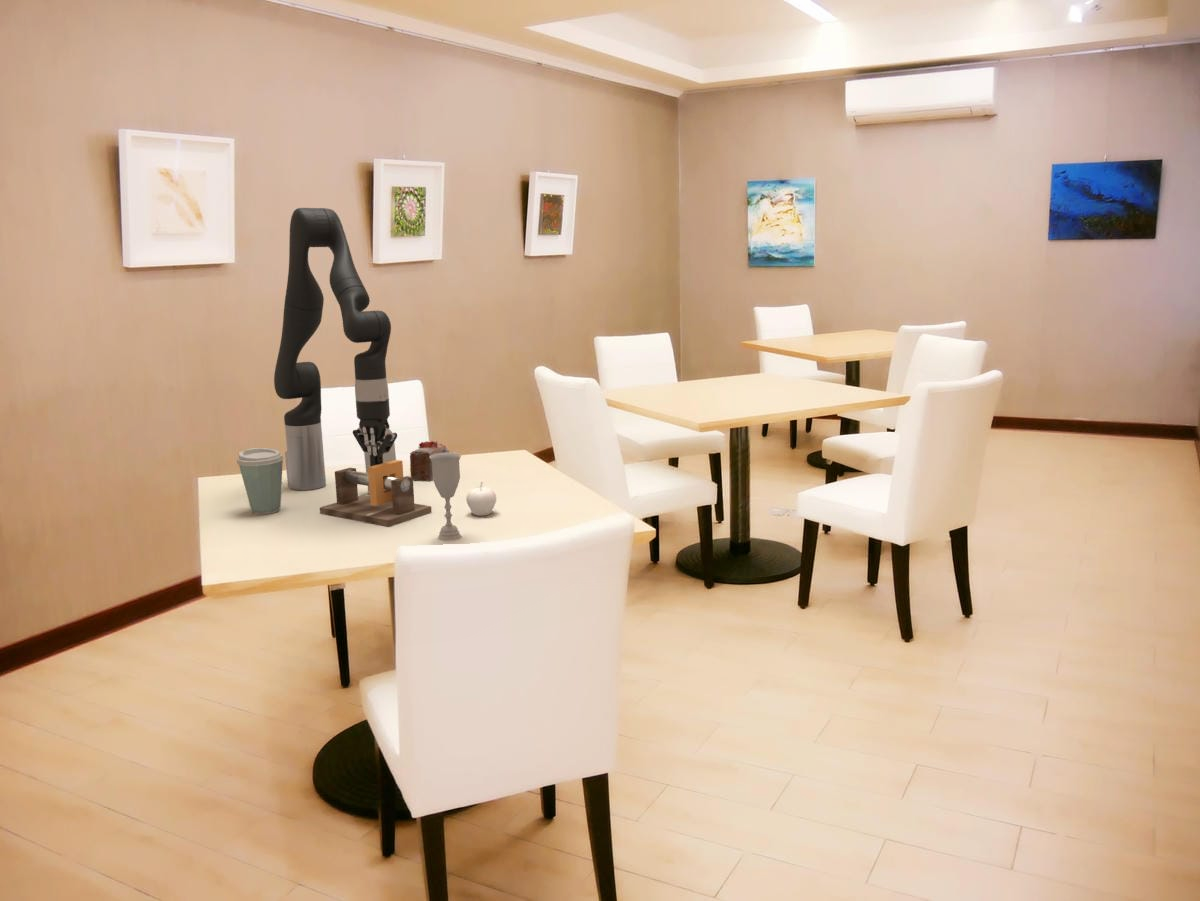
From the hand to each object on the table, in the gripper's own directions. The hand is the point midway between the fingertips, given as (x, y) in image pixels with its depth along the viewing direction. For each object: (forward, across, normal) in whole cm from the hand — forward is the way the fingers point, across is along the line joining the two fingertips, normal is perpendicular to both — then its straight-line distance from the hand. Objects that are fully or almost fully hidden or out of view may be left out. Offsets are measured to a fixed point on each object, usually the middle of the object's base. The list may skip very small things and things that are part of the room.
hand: (377, 470), depth 228 cm
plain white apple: (+11, +21, +12) cm, 27 cm away
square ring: (+7, +3, 0) cm, 8 cm away
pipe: (+4, -2, 0) cm, 5 cm away
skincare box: (+11, -14, +14) cm, 22 cm away
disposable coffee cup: (+11, -26, -12) cm, 31 cm away
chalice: (+11, +27, -6) cm, 30 cm away
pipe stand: (+11, -2, 0) cm, 11 cm away
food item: (+11, -18, +36) cm, 42 cm away
